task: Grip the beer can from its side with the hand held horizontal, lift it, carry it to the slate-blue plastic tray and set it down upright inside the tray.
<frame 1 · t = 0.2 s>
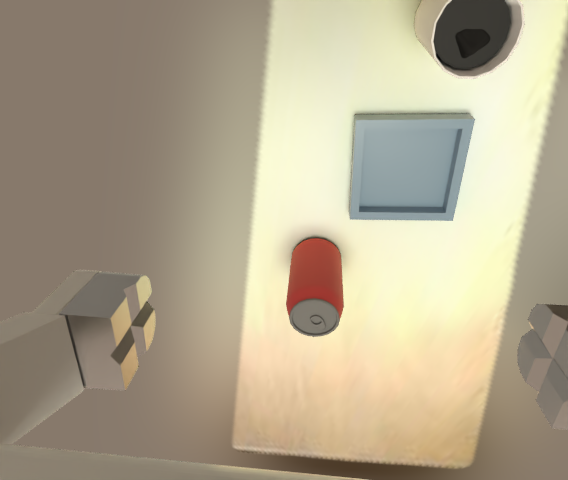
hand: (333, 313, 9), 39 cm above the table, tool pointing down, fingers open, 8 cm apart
white coffee cup: (444, 18, 40), on the table
beer can: (316, 255, 56), on the table
slate tray: (404, 166, 48), on the table
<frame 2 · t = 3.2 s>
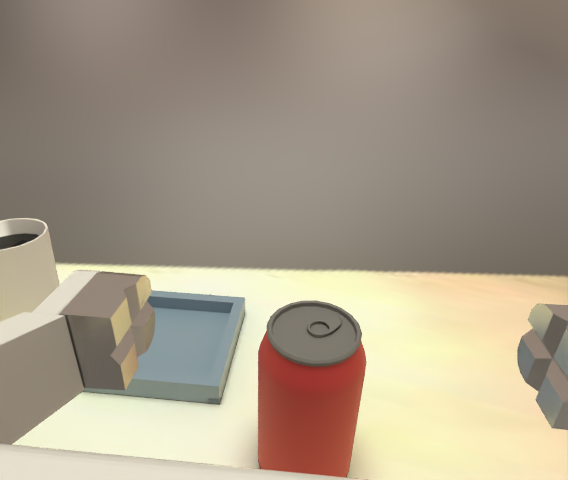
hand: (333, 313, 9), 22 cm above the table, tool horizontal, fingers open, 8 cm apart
white coffee cup: (34, 322, 43), on the table
beer can: (303, 460, 30), on the table
slate tray: (171, 347, 40), on the table
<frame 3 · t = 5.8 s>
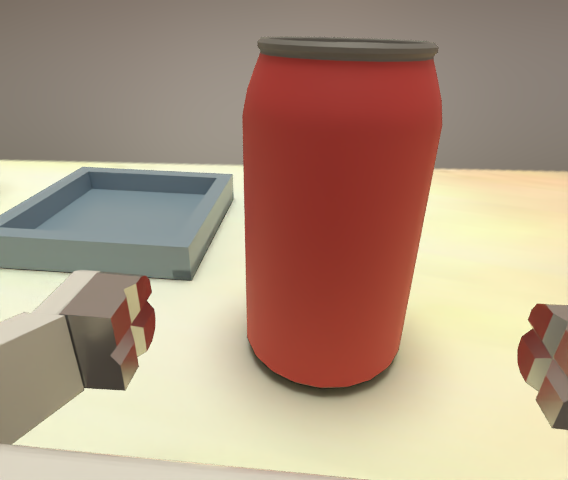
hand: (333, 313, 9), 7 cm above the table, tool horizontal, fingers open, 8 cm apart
beer can: (321, 342, 19), on the table
slate tray: (128, 226, 28), on the table
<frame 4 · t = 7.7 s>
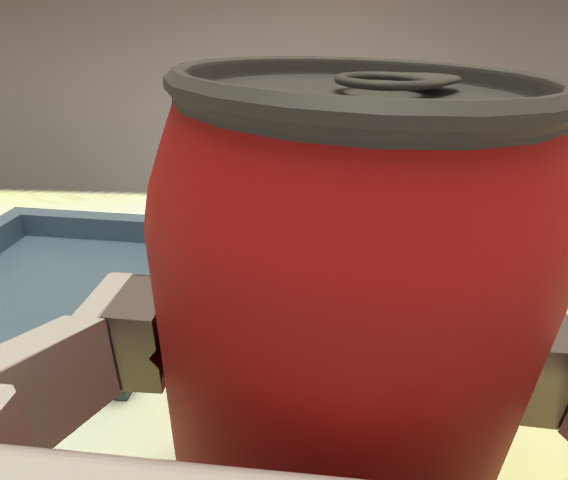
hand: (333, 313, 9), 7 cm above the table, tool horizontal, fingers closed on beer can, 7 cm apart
slate tray: (61, 296, 21), on the table
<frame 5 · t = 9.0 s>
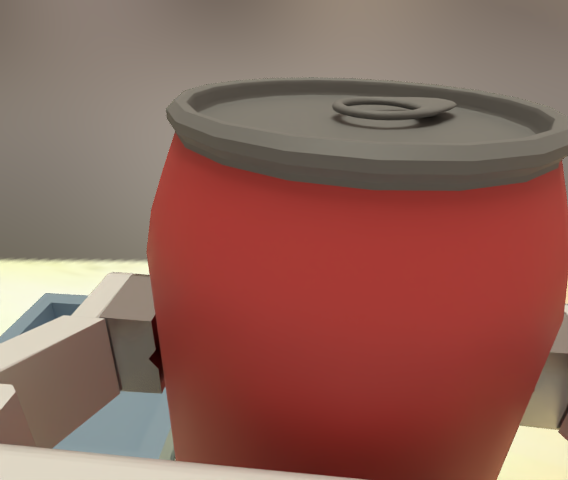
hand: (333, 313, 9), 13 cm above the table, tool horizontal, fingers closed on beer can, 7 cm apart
slate tray: (92, 388, 24), on the table
when the fingers open (9 cm above the table, at t = 14.0 s): beer can stays where it is, resting on slate tray.
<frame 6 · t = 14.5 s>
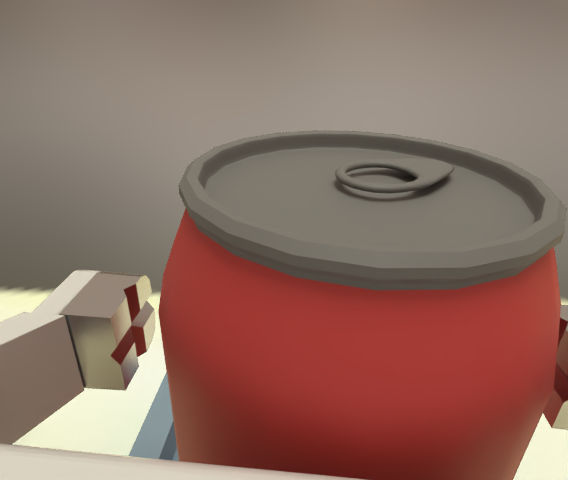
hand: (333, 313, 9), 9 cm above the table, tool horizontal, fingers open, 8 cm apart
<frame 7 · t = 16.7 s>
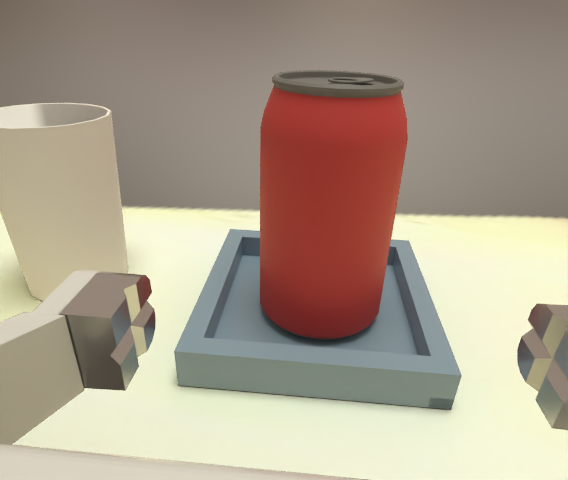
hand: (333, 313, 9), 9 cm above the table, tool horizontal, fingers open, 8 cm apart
white coffee cup: (80, 279, 26), on the table
beer can: (318, 309, 23), resting on slate tray
slate tray: (314, 313, 24), on the table
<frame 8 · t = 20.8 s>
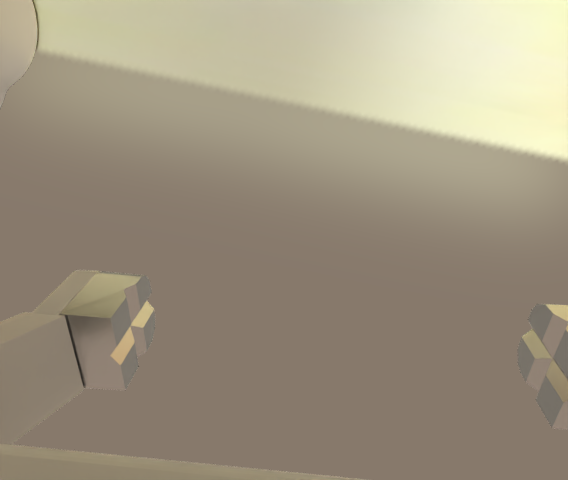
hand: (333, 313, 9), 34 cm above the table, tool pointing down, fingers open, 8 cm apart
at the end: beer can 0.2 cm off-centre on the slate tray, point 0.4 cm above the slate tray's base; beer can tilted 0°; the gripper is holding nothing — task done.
